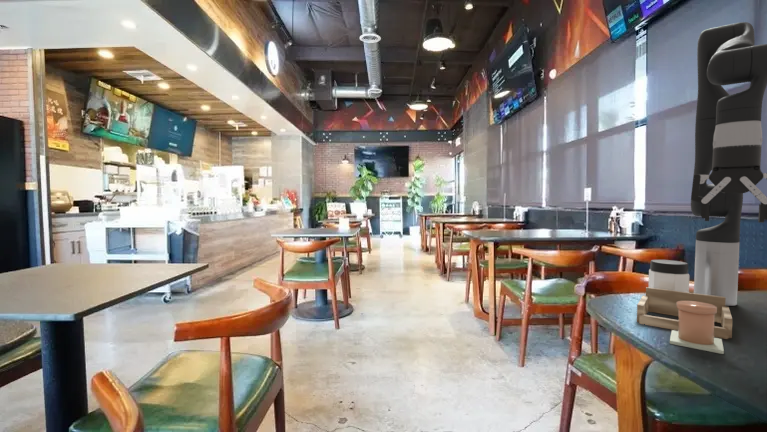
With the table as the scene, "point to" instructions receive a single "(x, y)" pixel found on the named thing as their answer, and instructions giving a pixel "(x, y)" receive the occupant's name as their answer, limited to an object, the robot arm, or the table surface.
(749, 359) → the table surface
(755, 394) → the table surface
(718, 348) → the pad
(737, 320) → the table surface
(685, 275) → the jar
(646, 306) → the wooden tray
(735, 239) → the robot arm
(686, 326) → the pot
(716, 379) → the table surface
